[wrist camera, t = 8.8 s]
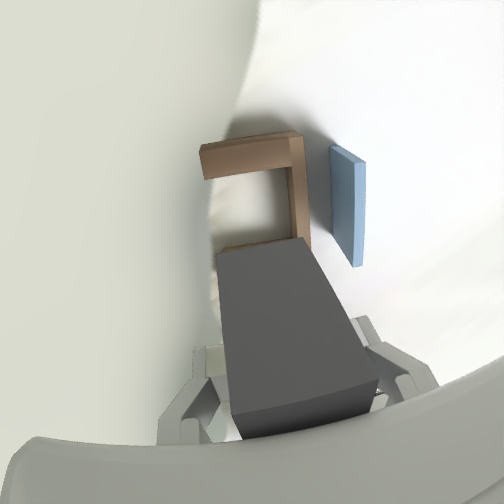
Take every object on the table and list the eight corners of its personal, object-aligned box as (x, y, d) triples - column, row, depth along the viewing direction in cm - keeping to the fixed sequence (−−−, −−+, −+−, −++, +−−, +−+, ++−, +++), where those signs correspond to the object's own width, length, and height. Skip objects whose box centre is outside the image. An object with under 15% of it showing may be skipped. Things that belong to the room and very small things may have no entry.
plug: (307, 316, 17) (357, 445, 10) (235, 331, 17) (257, 470, 10) (302, 236, 14) (379, 378, 7) (215, 254, 14) (231, 414, 7)
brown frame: (337, 326, 33) (351, 360, 29) (243, 343, 33) (247, 380, 28) (337, 126, 22) (365, 139, 18) (201, 144, 22) (196, 161, 17)
